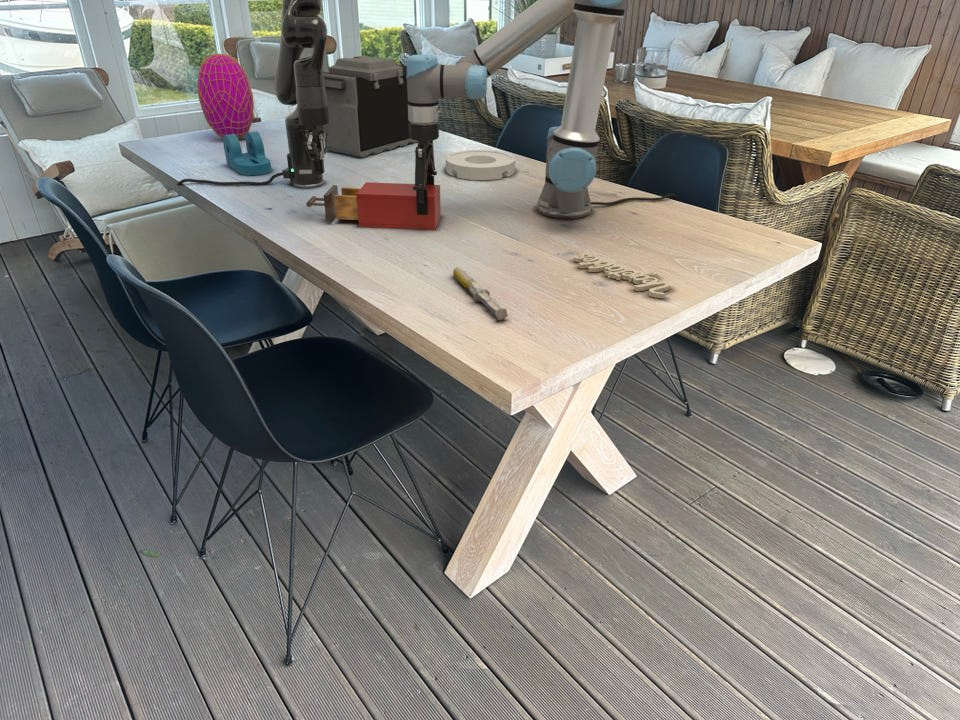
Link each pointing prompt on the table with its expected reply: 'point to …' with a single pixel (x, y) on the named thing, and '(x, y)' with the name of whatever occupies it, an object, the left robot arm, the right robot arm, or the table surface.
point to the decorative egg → (225, 95)
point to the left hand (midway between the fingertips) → (319, 173)
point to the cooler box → (366, 106)
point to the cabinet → (396, 206)
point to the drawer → (338, 203)
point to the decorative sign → (625, 274)
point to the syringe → (479, 293)
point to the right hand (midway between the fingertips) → (426, 206)
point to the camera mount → (246, 154)
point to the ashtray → (480, 164)
